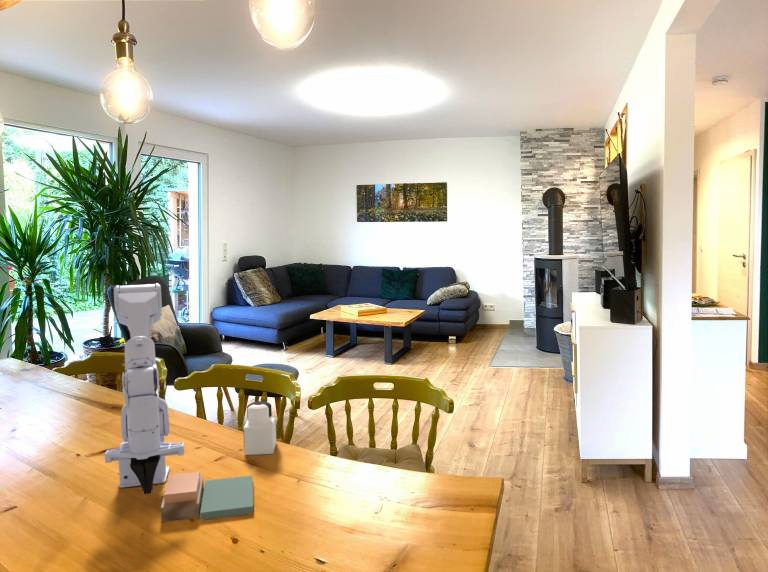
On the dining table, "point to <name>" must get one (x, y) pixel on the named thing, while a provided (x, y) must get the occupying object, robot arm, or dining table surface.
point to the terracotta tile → (182, 487)
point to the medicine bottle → (259, 429)
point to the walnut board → (183, 507)
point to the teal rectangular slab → (227, 497)
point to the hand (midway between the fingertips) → (148, 491)
